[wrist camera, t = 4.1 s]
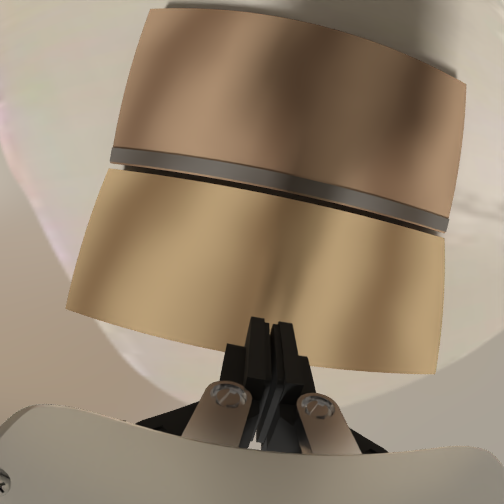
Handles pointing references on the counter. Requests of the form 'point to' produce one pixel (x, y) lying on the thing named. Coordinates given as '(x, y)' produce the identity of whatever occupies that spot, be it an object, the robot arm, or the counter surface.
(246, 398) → the robot arm
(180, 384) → the counter surface
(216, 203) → the oak plank
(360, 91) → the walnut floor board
